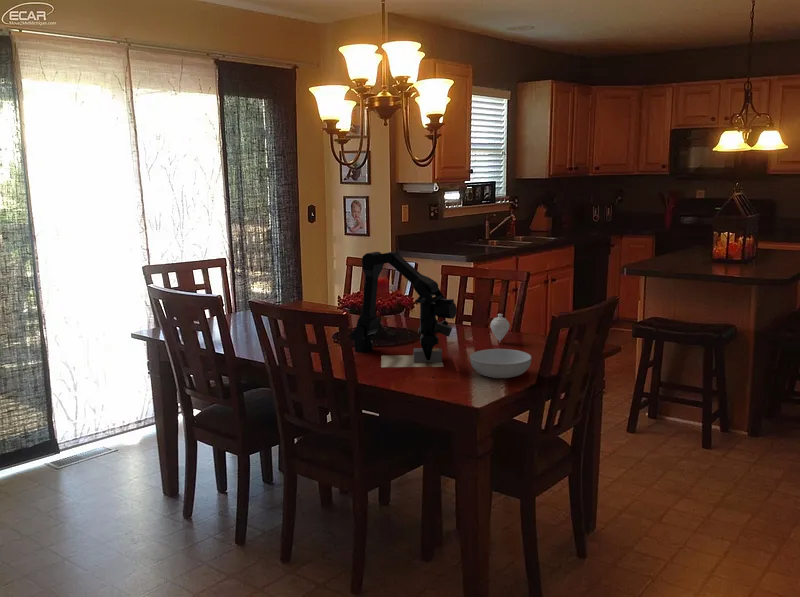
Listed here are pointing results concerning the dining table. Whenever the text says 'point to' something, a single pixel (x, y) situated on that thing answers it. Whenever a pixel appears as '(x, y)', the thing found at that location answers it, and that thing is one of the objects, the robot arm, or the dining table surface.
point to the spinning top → (499, 327)
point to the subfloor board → (406, 362)
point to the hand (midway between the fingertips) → (427, 358)
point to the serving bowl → (500, 362)
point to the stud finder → (420, 356)
